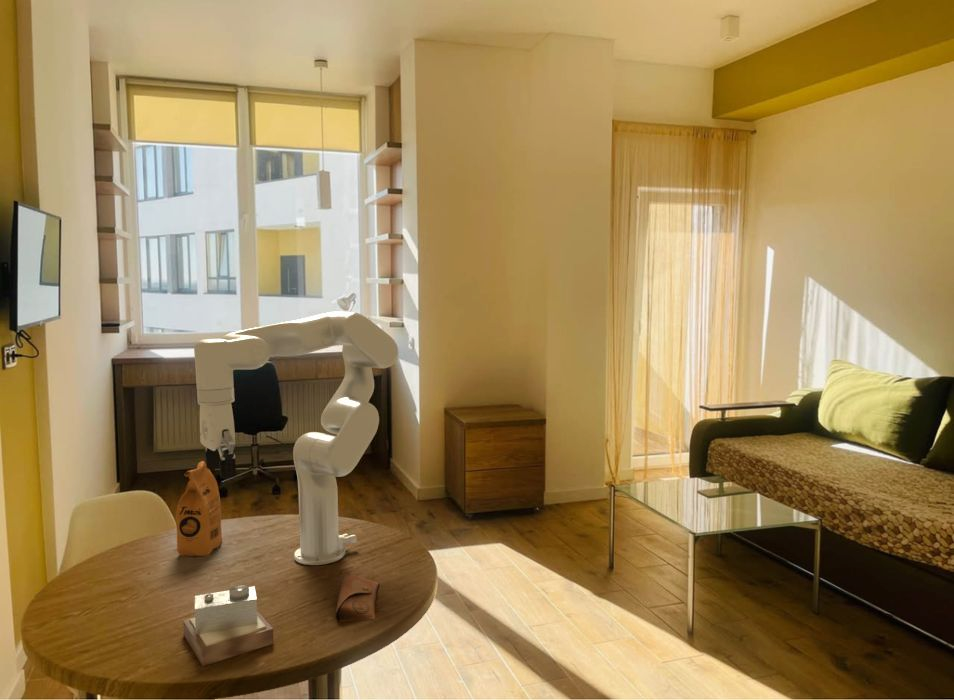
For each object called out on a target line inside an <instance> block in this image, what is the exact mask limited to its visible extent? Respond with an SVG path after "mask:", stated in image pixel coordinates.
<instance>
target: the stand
mask: <svg viewBox="0 0 954 700" xmlns="http://www.w3.org/2000/svg"><path fill="white" fill-rule="evenodd" d="M257 621H258V624H254V625H249V626H243V627H237V628H232V629H226V630H221V631H215V632H209V633H204V634H198V635H196V625H195V616H194V617H190V618H185V619H182V625H183V626H182V627H183V628H182V629H183V636H184V638H185V639H186V641H187V643H188V644H189V646H190V648H191V649H192V652H194V654H195V656H196V657H197V659H198V660H199V663H200V664H201V666H202V667H205V666H207V665H211V664H215V663H217V662H221V661H223V660H226V659H227V660H228V659H230V658H233V657H236V656H238V655H243V654H246V653H249V652H251V651H255V650H258V649H261V648H264V647H268V646H271V645H273V644H275V643H274V628H273V626H271V625H270V623H269V622H268V621H267V620H266V618H264V616H262V615H261V613H260V612H259V611H258V610H257Z"/></svg>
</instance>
